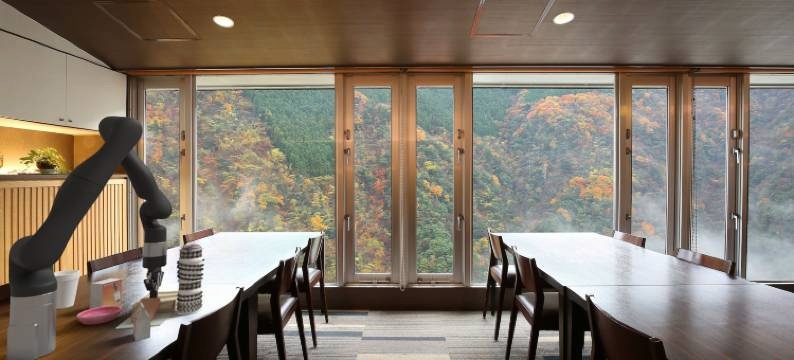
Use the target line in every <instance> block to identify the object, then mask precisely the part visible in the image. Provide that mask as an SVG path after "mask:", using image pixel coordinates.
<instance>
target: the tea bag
mask: <svg viewBox="0 0 794 360" xmlns="http://www.w3.org/2000/svg"><path fill="white" fill-rule="evenodd" d="M151 327H152V326H151V319H150V317H149V315H148V313H147V312H146V310H145V308H144V306H143V304H142V302H140V304H139V306H138V308H137V310H136V312H135V314H134V316H133V328H132V336H133V338H134V341H135V342H137V341H141V340H142V341H143V340H146V339H150V338H151Z"/></svg>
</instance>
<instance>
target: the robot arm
mask: <svg viewBox="0 0 794 360" xmlns="http://www.w3.org/2000/svg"><path fill="white" fill-rule="evenodd" d="M97 127H98V134H99V135H100V137H101V138H102V140H103V142H104V143H103V144H102V146H101V147H100V148H99V149H98V150H97V151H96V152H95V153H93V154H92V155H91V156H89V157H88V158H86V159H85V160H83V161H82V162H81V163H79V164H78V165H76V167H74V168H73V169H72V170H71V171H70V173H69V174H68V175H67V177H66V178H65V179H64V180H63V182H62V183H61V185H60V186H59V188H58V190H57V192H56V194H55V197H54V199H53V203H52V205H51V208H50V212H49V214H48V215H47V217H46V219H45V220H44V222H43V223H42V224H41V225H40V227H39V228H38V229H37V231H36V232H35V233H34V234H30V235H25V236H23V237H20V238H19V239H17V240H16V241H15V242H14V243H13V244H11V247H10V250H9V253H8V285H9V289H10V305H9V306H10V307H9V326H8V327H7V329H6V331H7V332H6V333H7V334H6V355H5V356H6V359H5V360H36V359H38V358H41V357H42V358H43V357H44V356H46V355H49V354H51V353H53V352H54V351H55V350H56V332H57V309H56V306H57V280H56V278H55V275H54V272H55V271H54V265H55V264H56V263H57V262H59V260H60V258H61V257H62V256H63V254H64V252H65V250H66V249H67V246H68V244H69V242H70V240H71V239H72V237H73V234H74V233H75V231H76V229H77V227H78V226H79V225H80V223H81V222H82V221H83V219H84V218H85V216H86V215H87V214H88V212H89V211H90V209H91V208H92V207H93V205H94V204H95V203H96V201H97V200H98V199H99V197H100V195H101V194H102V192H103V191H104V190H105V188H106V186H107V184H108V183H109V180H111V178H112V177H113V175H114V174H115V172H117V169H118V168H119V166H121V168H122V170H123V171H124V172H125V174H126V176H127V178H128V180H129V181H130V184H131V186H132V188H133V190H134V192H135V195H136V197H138V198H139V199H141V200H143V201H144V202H142V203H141V204H140V207H139V210H138V213H139V218H140V222H141V225H142V229H143V245H142V246H143V247H142V256H141V257H142V261H141V262H142V265H141V267H142V268H143V269H147V271H146V273H145V276H146V278H144V279H143V285H144V287H145V289H146V291H147V292H149V293H150V298H158V292H159V289H160V287H161V286H162V282H163V278H164V275H165V271H163V270H162V268H163V267H164V268H165V267H166V266H167V263H168V261H167V260H168V259H167V258H168V257H167V256H168V245H167V244H168V243H167V234H168V233H167V227H166V226H164V225H162V224H160V223H159V221H158V220H167V219H169V218H170V217H171V215H172V213H173V205H172V203H171V202H170V200H169V199H168V198H167V196H166V195H165V194H164V192H163V191H162V190H161V189H160V188H159V186H158V183H157V180H156V179H155V176H154V175H153V173H152V171H151V170H150V168H149V167H148V166H147V165H146V163H144V161H143V160H142V159H141V158H140V156H138V154H137V153H136V151H135V150H134V148H135V146H137V144H138V143H139V141H140V140H141V138H142V136H143V133H144V130H143V129H144V128H143V125H142V123H141V122H140V120H138V119H136V118H133V117H129V116H119V115H109V116H105V117H104V118H102V119H101V120H100V121H99V123H98V126H97Z"/></svg>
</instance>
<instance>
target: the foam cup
mask: <svg viewBox="0 0 794 360" xmlns="http://www.w3.org/2000/svg"><path fill="white" fill-rule="evenodd" d="M54 275H55V278H56V280H57V306H56V310H59V309H60V310H62V309H66V308H69V307H70V308H71V307H73V306H74V304H75V300H76V294H77V290H78V286H79V280H80V277H81V270H79V269H70V270H69V269H68V270H60V271H59V270H58V271H54Z"/></svg>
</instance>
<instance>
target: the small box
mask: <svg viewBox="0 0 794 360" xmlns="http://www.w3.org/2000/svg"><path fill="white" fill-rule="evenodd" d="M122 288H123V280H122V278H111V277H110V278H107V279H103V280H99V281H95V282H90V297H89V309H93V308H97V307H103V306H120V307H122V292H123V291H122Z"/></svg>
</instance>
